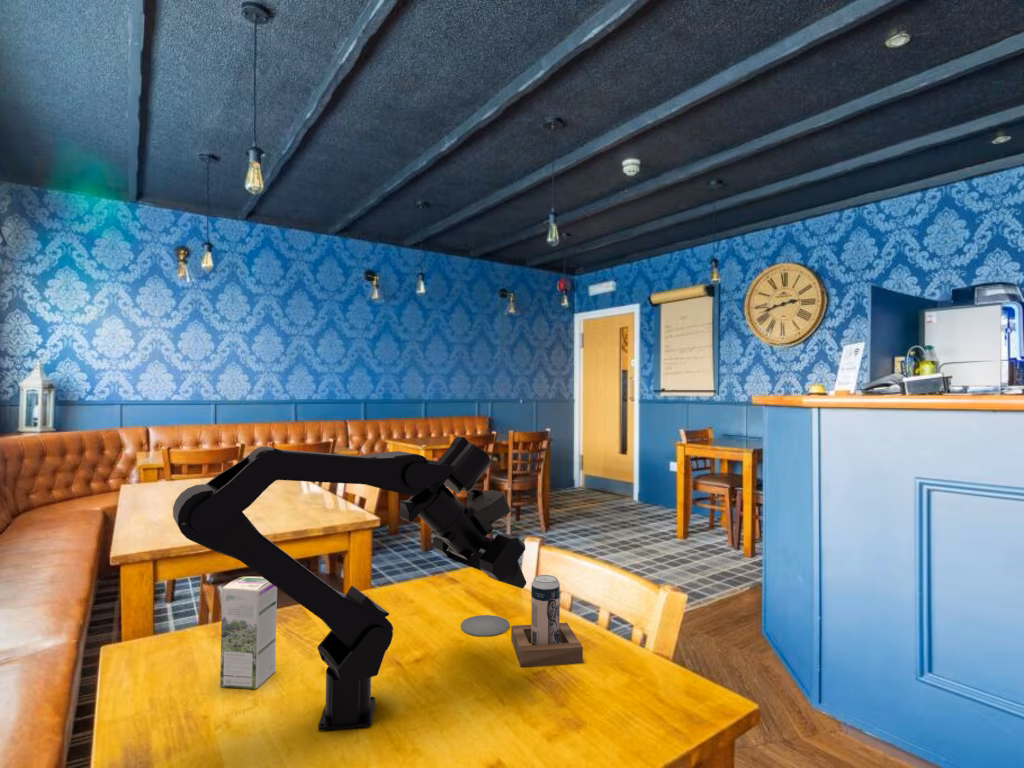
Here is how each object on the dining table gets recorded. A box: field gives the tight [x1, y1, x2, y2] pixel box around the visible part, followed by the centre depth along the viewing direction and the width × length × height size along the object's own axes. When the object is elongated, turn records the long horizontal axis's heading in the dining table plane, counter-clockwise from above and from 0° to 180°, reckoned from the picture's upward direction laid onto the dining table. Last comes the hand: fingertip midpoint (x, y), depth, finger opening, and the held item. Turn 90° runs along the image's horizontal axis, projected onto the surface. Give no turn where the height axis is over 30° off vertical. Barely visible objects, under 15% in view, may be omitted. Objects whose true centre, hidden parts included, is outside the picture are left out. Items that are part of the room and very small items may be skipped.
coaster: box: [460, 614, 510, 638], centre depth 102 cm, size 9×9×1 cm
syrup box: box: [219, 575, 278, 690], centre depth 82 cm, size 6×6×14 cm
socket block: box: [510, 622, 584, 668], centre depth 92 cm, size 10×10×2 cm
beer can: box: [530, 574, 561, 645], centre depth 92 cm, size 5×5×12 cm
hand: (506, 577), depth 88 cm, fingers open, 9 cm apart
